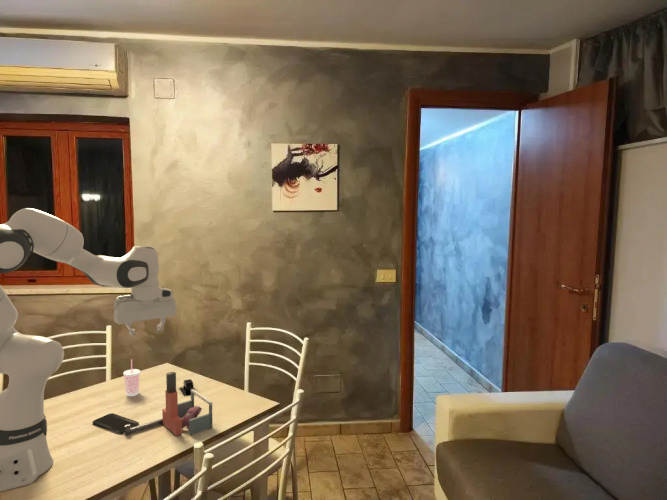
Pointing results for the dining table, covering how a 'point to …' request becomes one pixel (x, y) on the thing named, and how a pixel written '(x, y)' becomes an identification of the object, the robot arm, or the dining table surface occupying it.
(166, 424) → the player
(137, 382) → the beverage cup
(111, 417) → the phone
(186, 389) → the black piece
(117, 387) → the dining table surface
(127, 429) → the rail
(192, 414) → the video game controller
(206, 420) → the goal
